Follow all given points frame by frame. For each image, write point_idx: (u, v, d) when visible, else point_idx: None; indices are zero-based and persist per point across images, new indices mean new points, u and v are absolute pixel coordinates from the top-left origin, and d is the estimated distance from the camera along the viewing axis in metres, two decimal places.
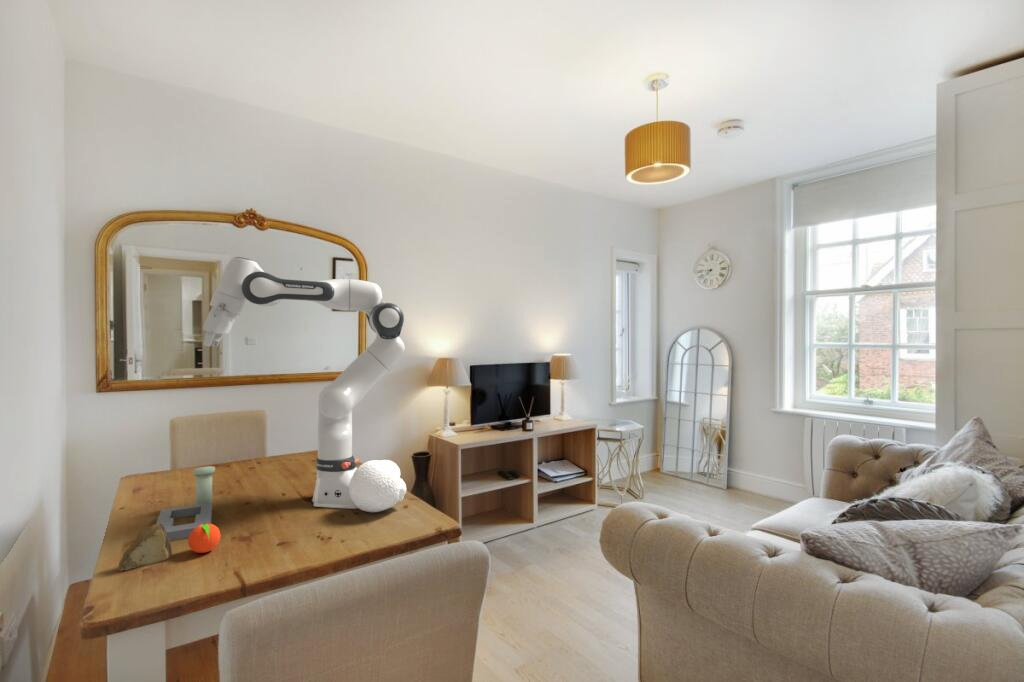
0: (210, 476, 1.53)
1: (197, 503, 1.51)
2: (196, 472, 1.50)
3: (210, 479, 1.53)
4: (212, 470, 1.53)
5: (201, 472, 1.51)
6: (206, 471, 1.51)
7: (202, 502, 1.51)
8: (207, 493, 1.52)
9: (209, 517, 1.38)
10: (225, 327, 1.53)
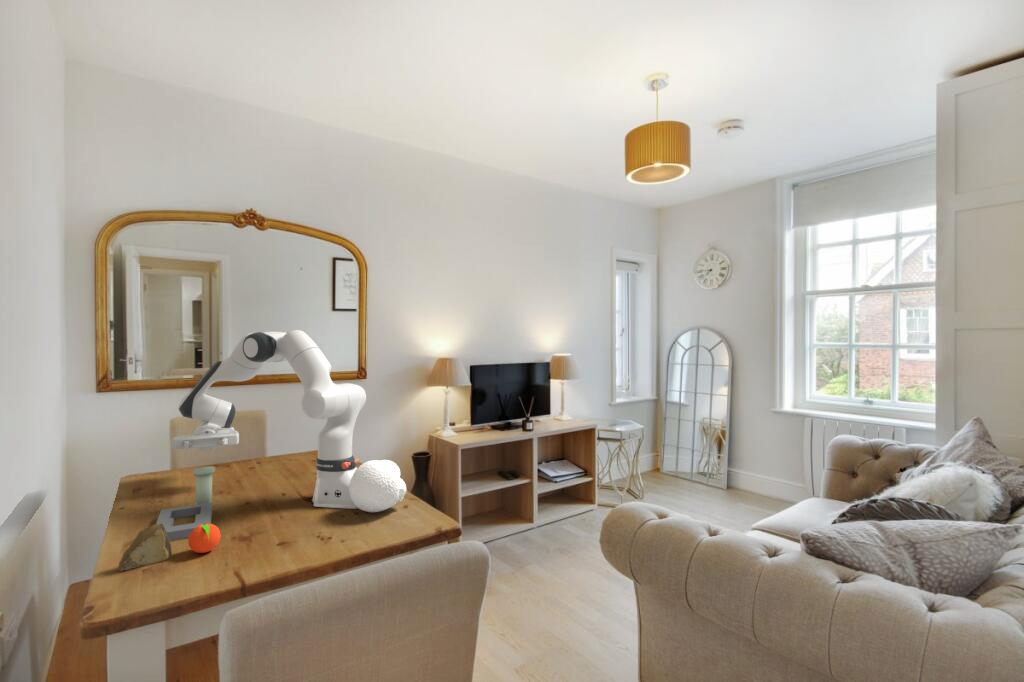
0: (210, 476, 1.53)
1: (197, 503, 1.51)
2: (196, 472, 1.50)
3: (210, 479, 1.53)
4: (212, 470, 1.53)
5: (201, 472, 1.51)
6: (206, 471, 1.51)
7: (202, 502, 1.51)
8: (207, 493, 1.52)
9: (209, 517, 1.38)
10: (210, 435, 1.70)
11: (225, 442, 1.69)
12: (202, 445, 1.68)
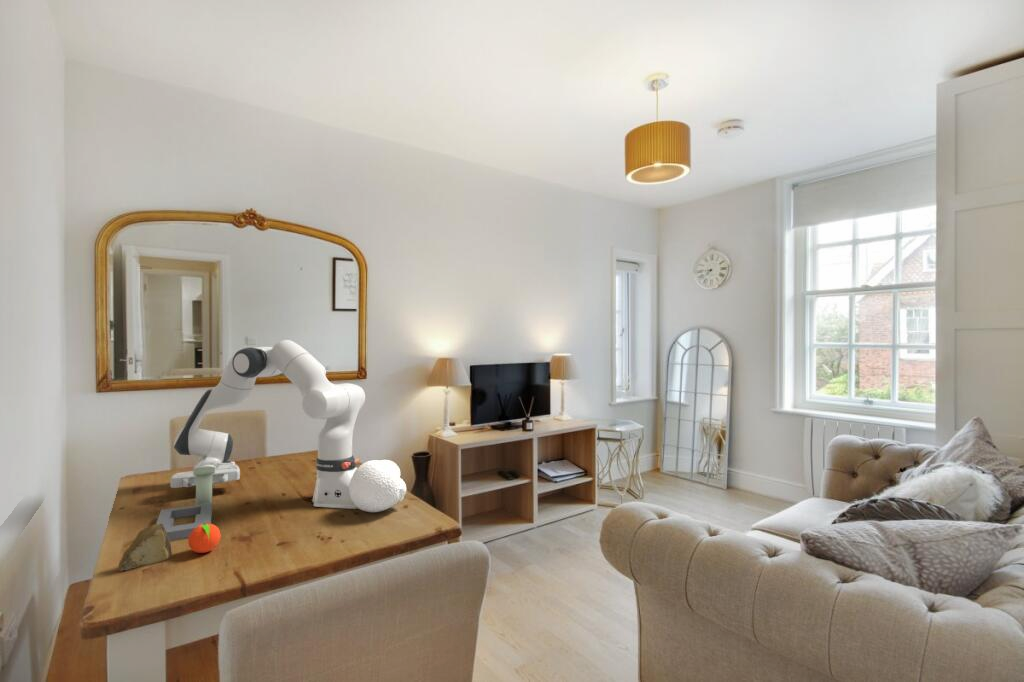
0: (210, 476, 1.53)
1: (197, 503, 1.51)
2: (196, 472, 1.50)
3: (210, 479, 1.53)
4: (212, 470, 1.53)
5: (201, 472, 1.51)
6: (206, 471, 1.51)
7: (202, 502, 1.51)
8: (207, 493, 1.52)
9: (209, 517, 1.38)
10: None
11: (225, 479, 1.64)
12: None
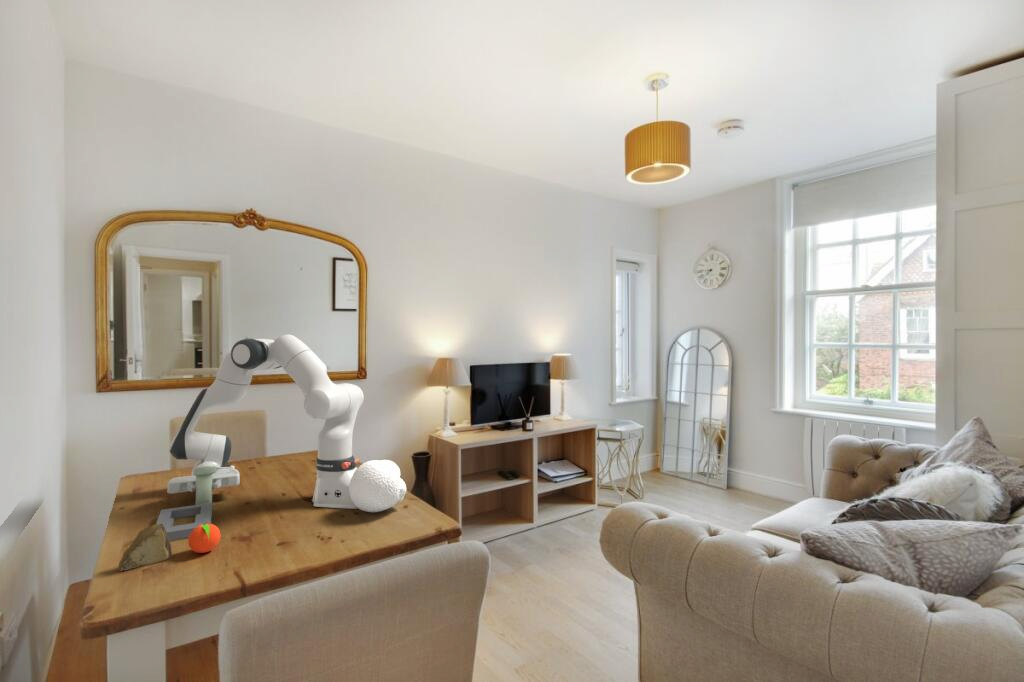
0: (210, 476, 1.53)
1: (197, 503, 1.51)
2: (196, 472, 1.50)
3: (210, 479, 1.53)
4: (212, 470, 1.53)
5: (201, 472, 1.51)
6: (206, 471, 1.51)
7: (202, 502, 1.51)
8: (207, 493, 1.52)
9: (209, 517, 1.38)
10: None
11: (218, 485, 1.57)
12: None
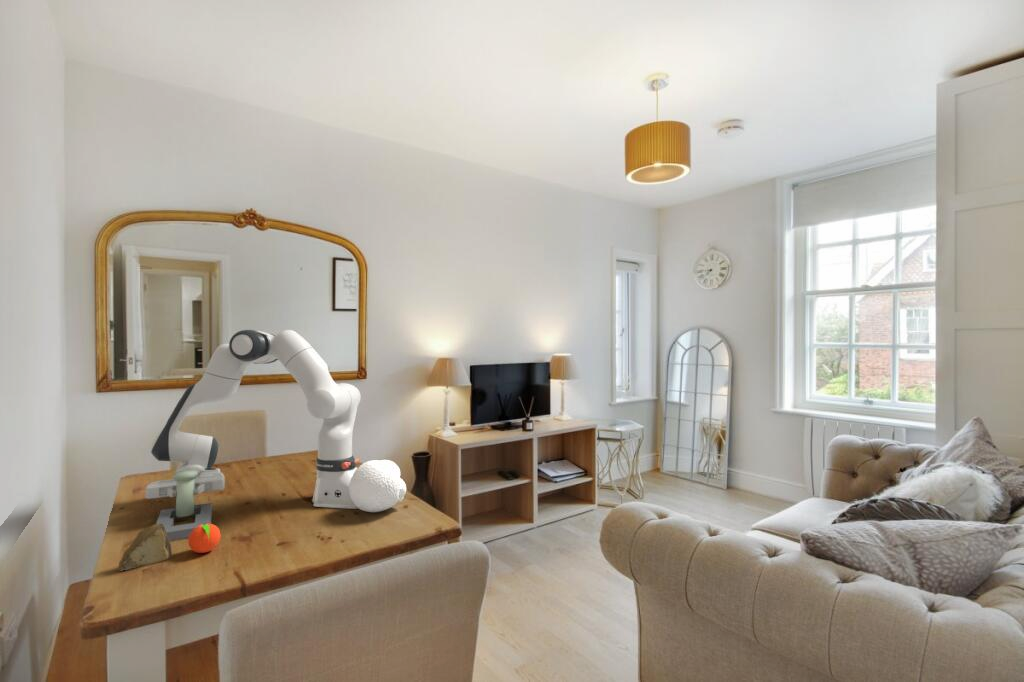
0: (192, 480, 1.42)
1: (177, 509, 1.40)
2: (176, 476, 1.39)
3: (192, 483, 1.42)
4: (194, 474, 1.42)
5: (182, 476, 1.39)
6: (187, 475, 1.40)
7: (183, 508, 1.40)
8: (188, 499, 1.41)
9: (209, 517, 1.38)
10: None
11: (201, 489, 1.45)
12: None
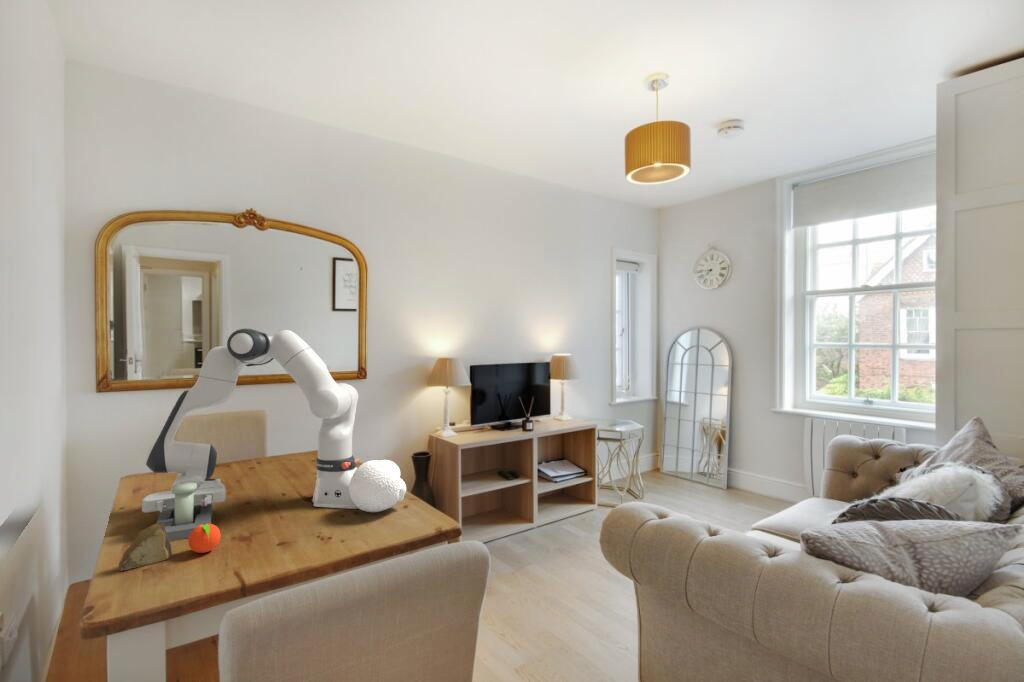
0: (191, 494, 1.35)
1: (176, 525, 1.33)
2: (175, 490, 1.32)
3: (191, 497, 1.35)
4: (193, 487, 1.35)
5: (180, 490, 1.32)
6: (186, 489, 1.33)
7: (182, 524, 1.33)
8: (187, 514, 1.34)
9: (209, 517, 1.38)
10: None
11: (208, 501, 1.39)
12: None
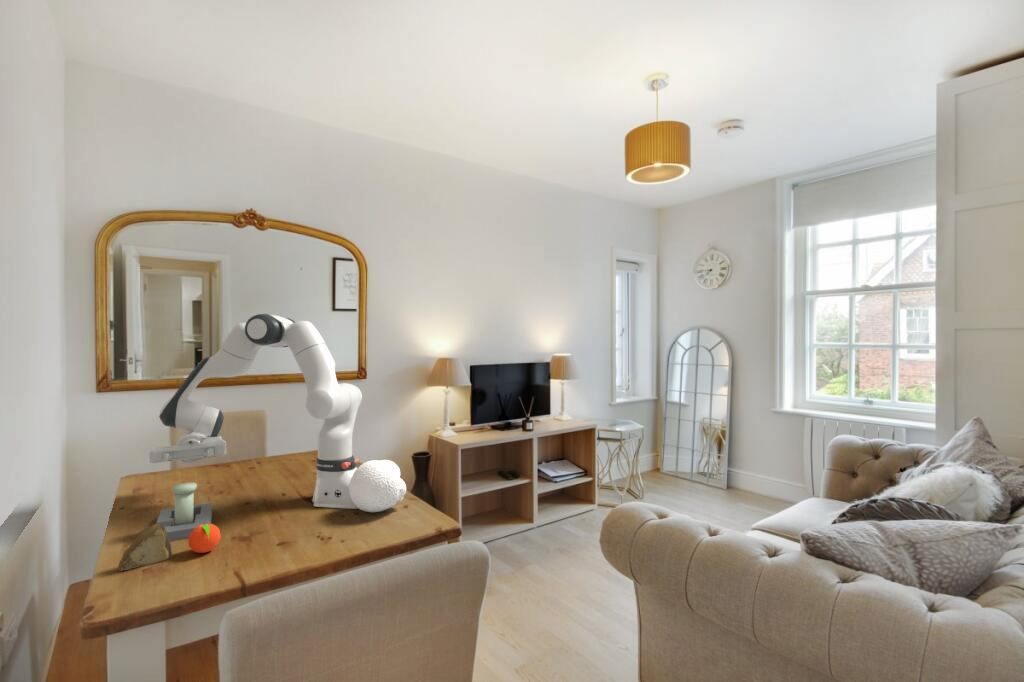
0: (191, 494, 1.35)
1: (176, 525, 1.33)
2: (175, 490, 1.32)
3: (191, 497, 1.35)
4: (193, 487, 1.35)
5: (180, 490, 1.32)
6: (186, 489, 1.33)
7: (182, 524, 1.33)
8: (187, 514, 1.34)
9: (209, 517, 1.38)
10: (194, 446, 1.52)
11: (211, 453, 1.50)
12: (185, 457, 1.49)
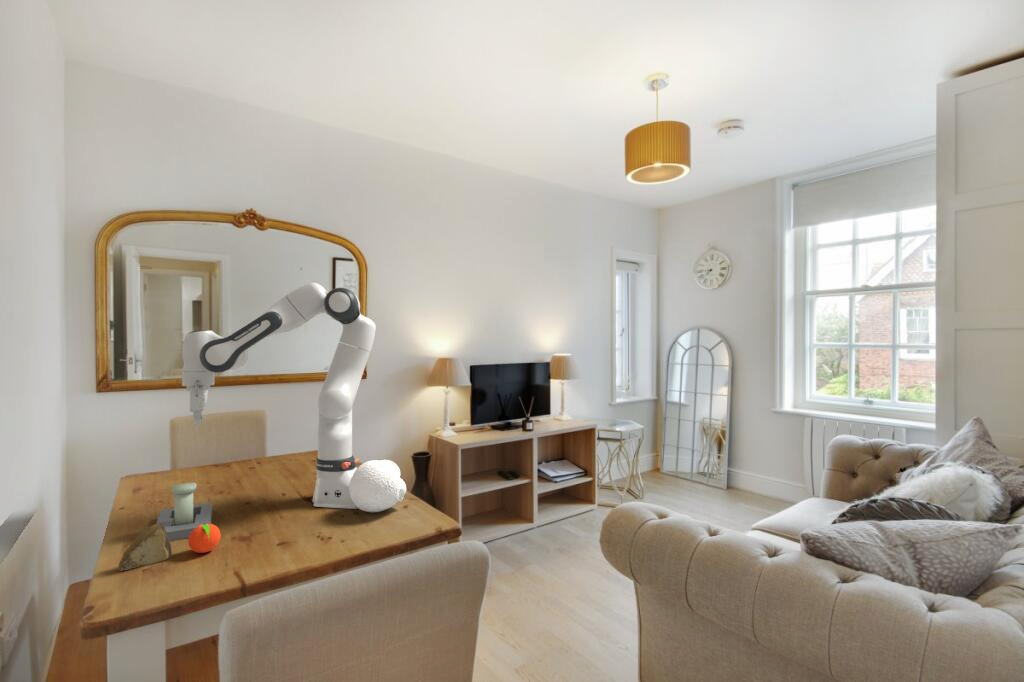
0: (191, 494, 1.35)
1: (176, 525, 1.33)
2: (174, 490, 1.32)
3: (191, 497, 1.35)
4: (193, 487, 1.34)
5: (180, 490, 1.32)
6: (186, 489, 1.33)
7: (181, 524, 1.33)
8: (187, 514, 1.34)
9: (209, 517, 1.38)
10: None
11: None
12: None
